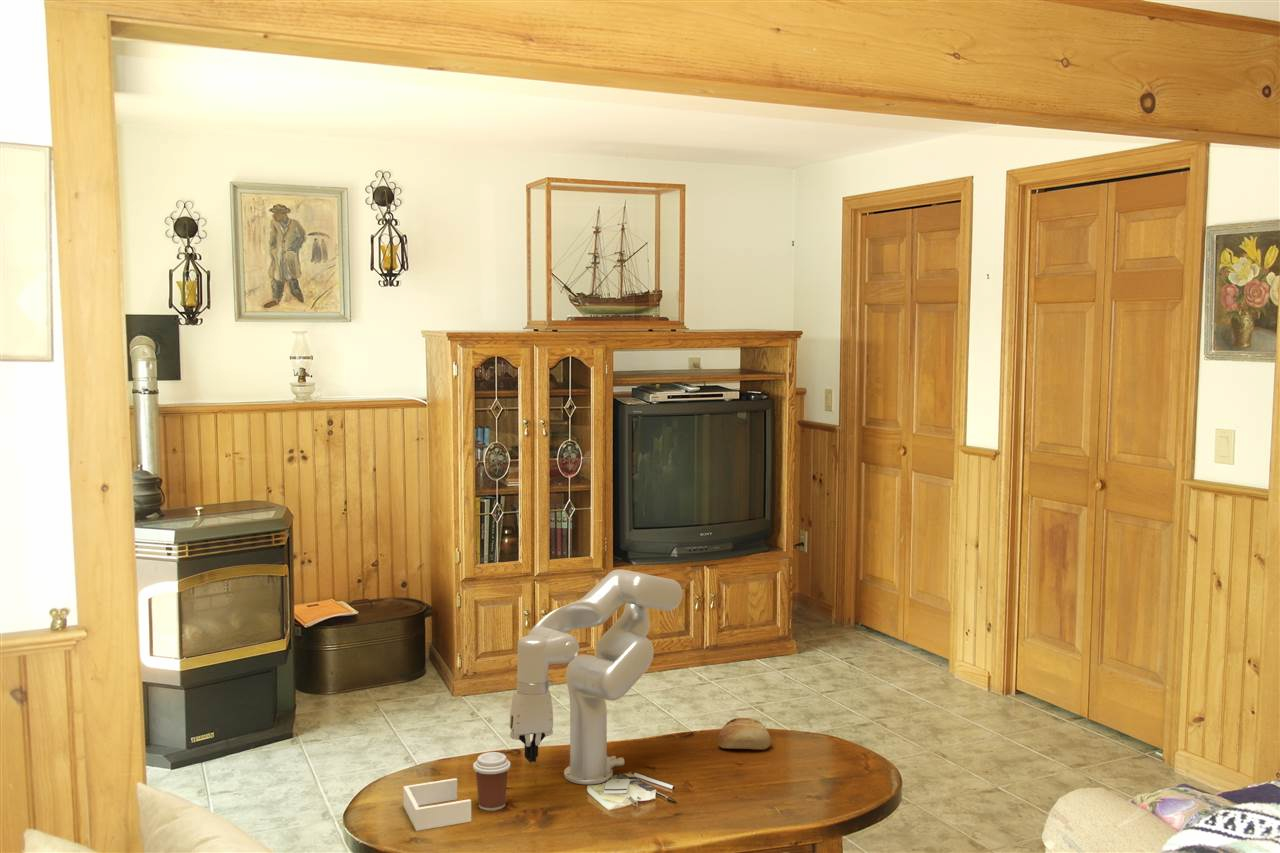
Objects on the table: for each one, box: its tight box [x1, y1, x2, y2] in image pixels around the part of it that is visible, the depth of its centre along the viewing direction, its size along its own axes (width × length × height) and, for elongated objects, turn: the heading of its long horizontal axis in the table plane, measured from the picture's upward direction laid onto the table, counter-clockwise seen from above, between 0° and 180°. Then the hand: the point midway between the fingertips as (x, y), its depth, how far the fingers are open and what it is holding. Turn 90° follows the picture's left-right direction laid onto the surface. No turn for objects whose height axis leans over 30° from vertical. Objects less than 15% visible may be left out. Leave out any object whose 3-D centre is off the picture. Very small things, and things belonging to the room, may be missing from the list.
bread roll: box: [716, 717, 772, 751], centre depth 307 cm, size 10×15×8 cm, turn 94°
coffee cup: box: [472, 751, 511, 812], centre depth 268 cm, size 9×9×12 cm
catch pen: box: [403, 777, 472, 832], centre depth 263 cm, size 13×14×5 cm
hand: (531, 760), depth 271 cm, fingers closed
